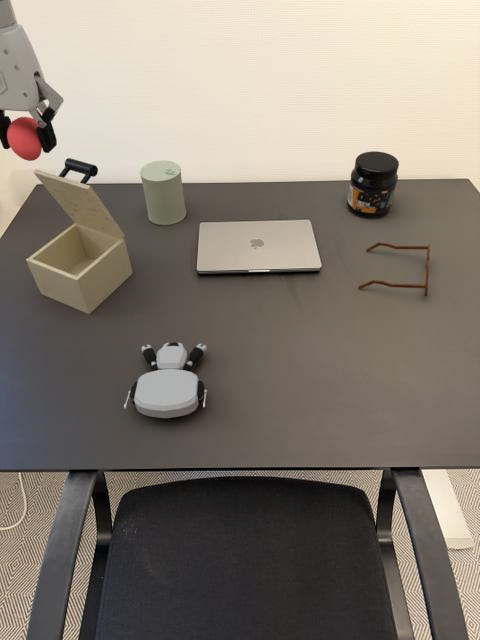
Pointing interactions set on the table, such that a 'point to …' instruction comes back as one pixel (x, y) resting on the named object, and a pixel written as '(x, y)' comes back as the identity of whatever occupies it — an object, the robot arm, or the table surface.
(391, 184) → the supplement container
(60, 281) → the open box
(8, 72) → the robot arm
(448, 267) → the table surface
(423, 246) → the glasses
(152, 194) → the can
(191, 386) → the robot toy
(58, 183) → the box lid
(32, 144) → the stress ball
